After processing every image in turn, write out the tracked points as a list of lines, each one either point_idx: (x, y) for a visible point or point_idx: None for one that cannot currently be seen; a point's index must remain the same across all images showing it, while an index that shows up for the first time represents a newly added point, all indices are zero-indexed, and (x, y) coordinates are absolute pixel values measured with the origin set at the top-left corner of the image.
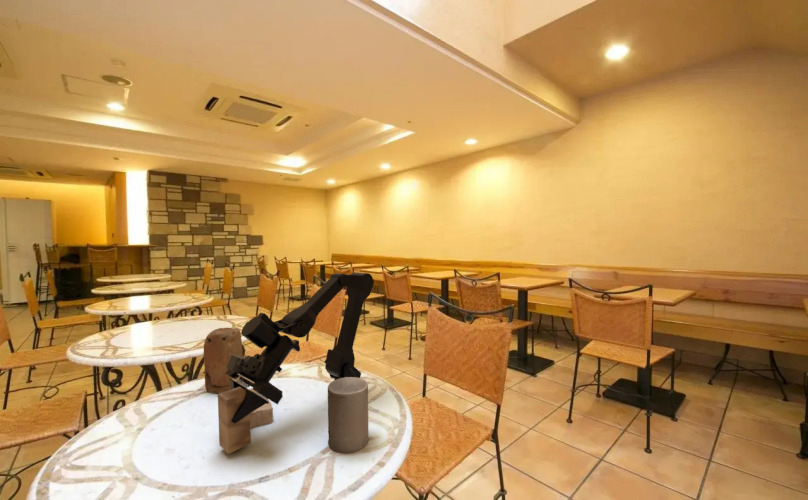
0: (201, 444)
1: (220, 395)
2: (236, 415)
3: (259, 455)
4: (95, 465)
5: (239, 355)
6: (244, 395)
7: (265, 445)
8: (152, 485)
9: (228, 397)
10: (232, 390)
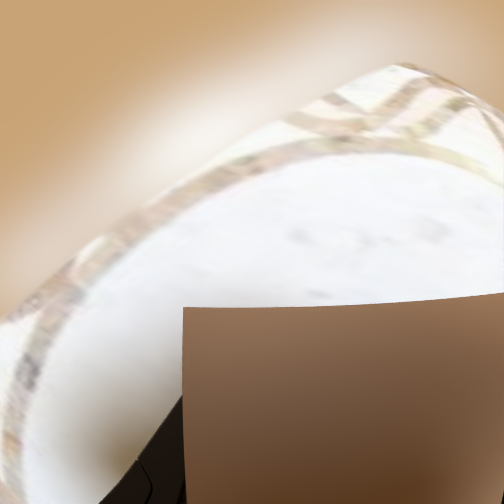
0: None
1: (450, 304)
2: (176, 406)
3: None
4: (450, 118)
5: None
6: None
7: None
8: (276, 150)
9: (279, 376)
10: (476, 477)
